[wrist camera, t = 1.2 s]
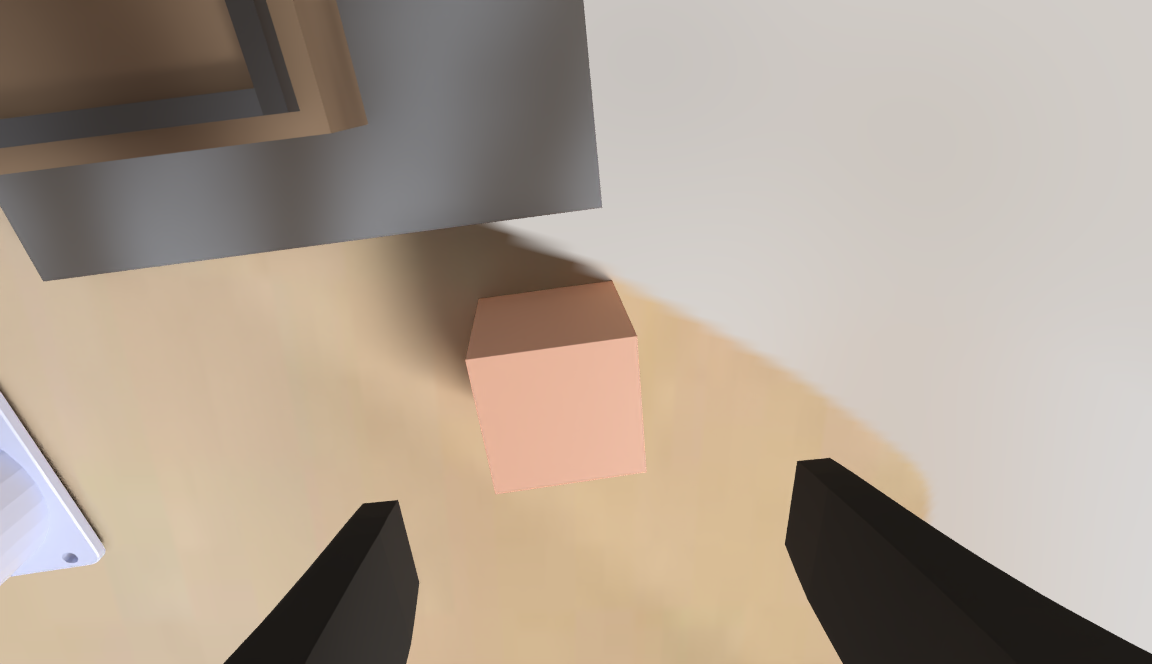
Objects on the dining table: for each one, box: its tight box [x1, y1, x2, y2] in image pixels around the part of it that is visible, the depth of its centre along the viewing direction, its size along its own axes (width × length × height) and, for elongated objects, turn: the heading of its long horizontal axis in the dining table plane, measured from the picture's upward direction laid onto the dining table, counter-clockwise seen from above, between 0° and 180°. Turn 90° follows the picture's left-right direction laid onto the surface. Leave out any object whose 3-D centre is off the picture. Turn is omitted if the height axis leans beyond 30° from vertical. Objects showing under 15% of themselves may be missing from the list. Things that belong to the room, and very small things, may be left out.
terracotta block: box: [465, 281, 646, 494], centre depth 17 cm, size 4×4×4 cm
